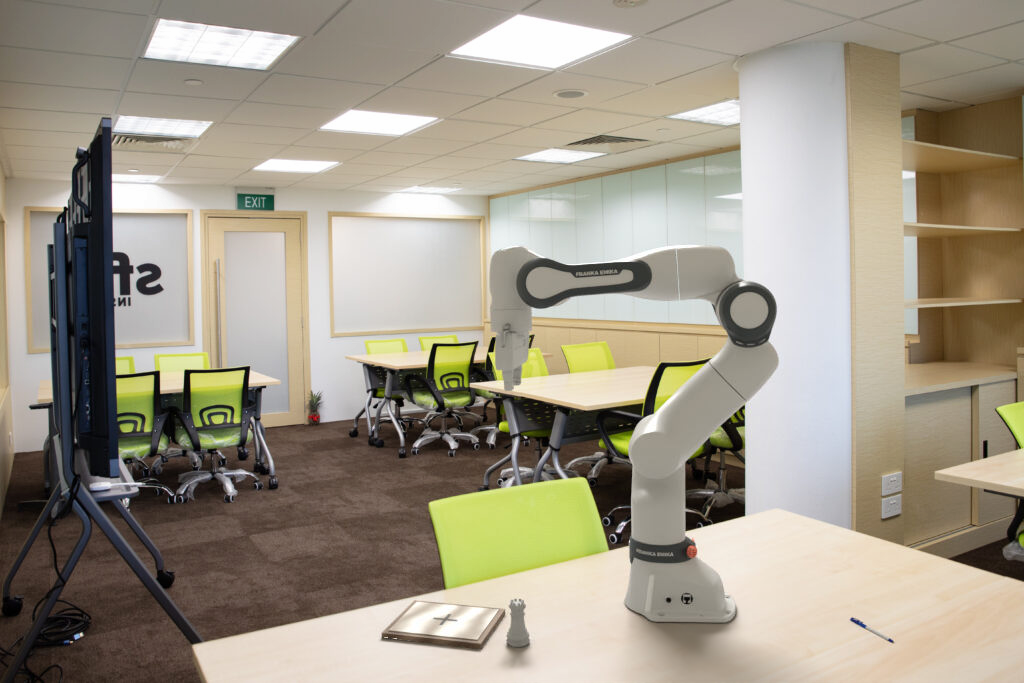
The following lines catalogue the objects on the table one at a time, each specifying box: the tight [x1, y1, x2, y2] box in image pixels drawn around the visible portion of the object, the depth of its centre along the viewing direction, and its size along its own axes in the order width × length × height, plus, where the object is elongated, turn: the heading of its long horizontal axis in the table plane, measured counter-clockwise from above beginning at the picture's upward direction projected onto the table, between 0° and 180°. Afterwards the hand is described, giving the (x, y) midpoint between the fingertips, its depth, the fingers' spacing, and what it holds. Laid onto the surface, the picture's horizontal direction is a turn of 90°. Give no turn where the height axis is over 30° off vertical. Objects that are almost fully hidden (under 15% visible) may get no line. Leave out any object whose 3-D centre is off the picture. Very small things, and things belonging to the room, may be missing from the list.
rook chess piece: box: [505, 598, 531, 648], centre depth 142 cm, size 4×4×8 cm
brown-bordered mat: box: [381, 599, 506, 650], centre depth 150 cm, size 20×16×1 cm
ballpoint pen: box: [849, 617, 895, 644], centre depth 144 cm, size 10×1×1 cm, turn 20°
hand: (513, 387), depth 162 cm, fingers open, 8 cm apart
